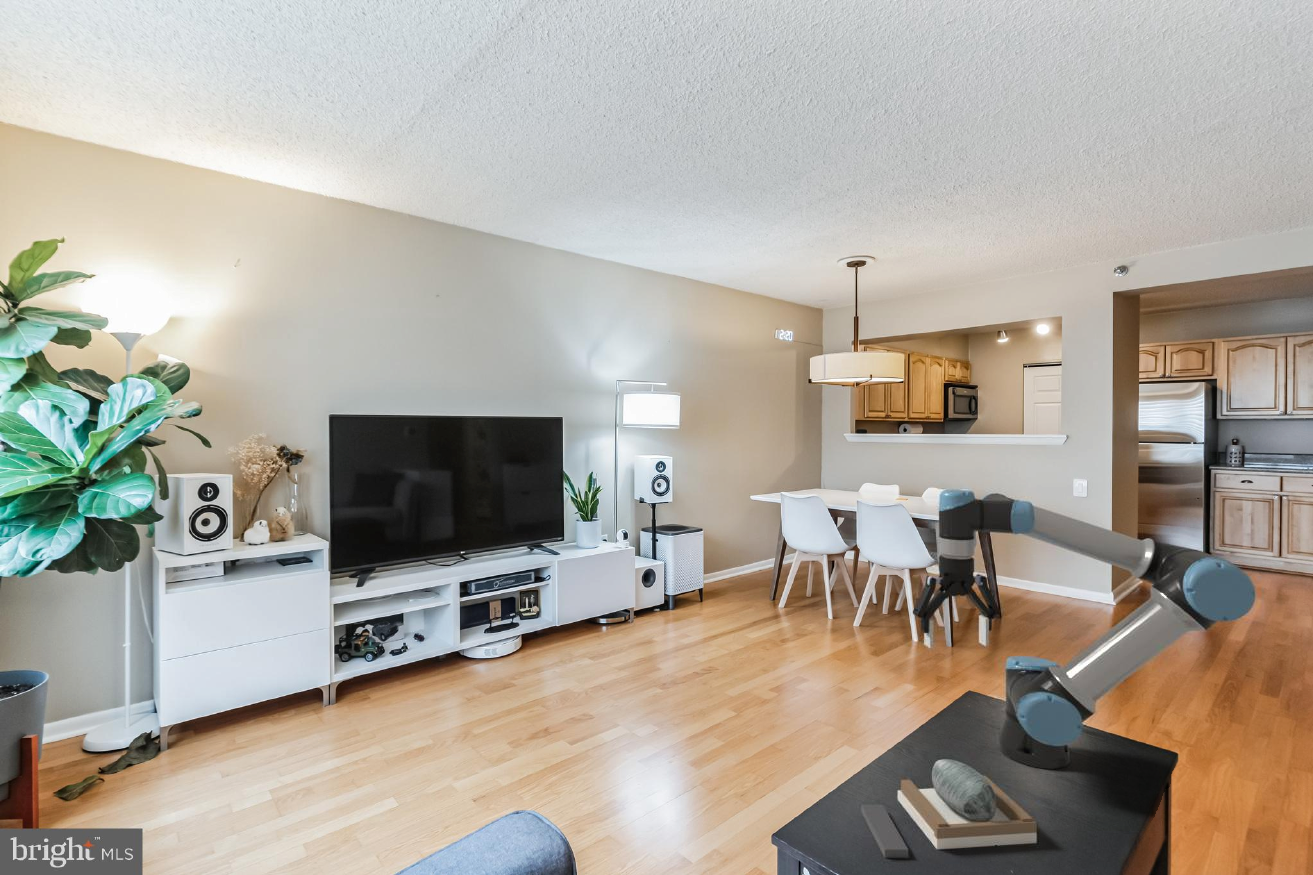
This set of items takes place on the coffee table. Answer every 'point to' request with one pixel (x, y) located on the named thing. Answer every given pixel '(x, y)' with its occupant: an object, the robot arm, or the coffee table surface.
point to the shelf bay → (966, 820)
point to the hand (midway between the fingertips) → (956, 645)
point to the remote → (884, 831)
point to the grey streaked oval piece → (964, 789)
